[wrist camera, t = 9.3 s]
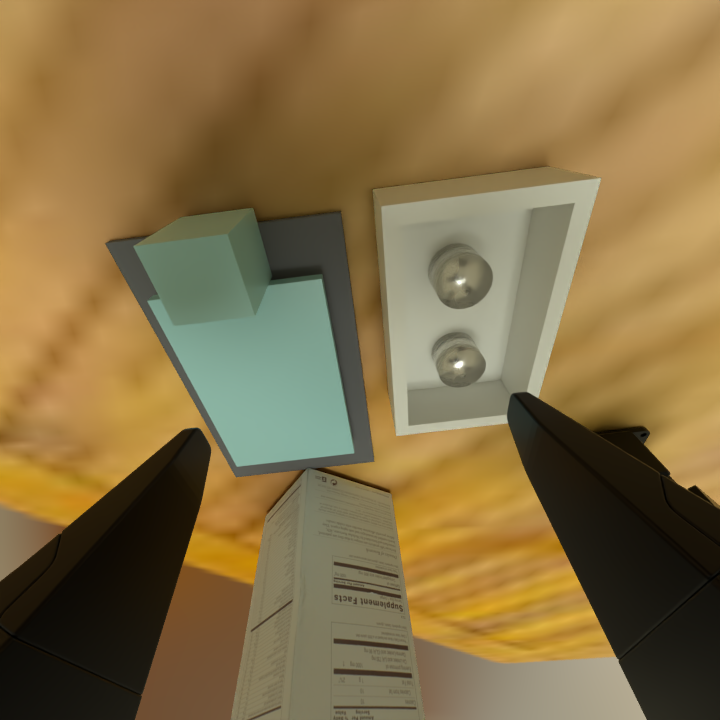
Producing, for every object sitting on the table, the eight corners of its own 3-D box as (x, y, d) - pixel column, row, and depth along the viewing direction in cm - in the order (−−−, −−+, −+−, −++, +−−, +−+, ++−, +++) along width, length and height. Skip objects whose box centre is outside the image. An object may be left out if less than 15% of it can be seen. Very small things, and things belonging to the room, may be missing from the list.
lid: (353, 440, 26) (356, 492, 23) (240, 452, 27) (224, 507, 23) (309, 200, 16) (301, 224, 12) (124, 224, 16) (60, 255, 12)
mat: (373, 457, 28) (374, 461, 28) (237, 473, 29) (236, 477, 28) (340, 210, 17) (340, 212, 16) (109, 240, 17) (105, 243, 17)
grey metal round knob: (476, 289, 19) (489, 305, 17) (427, 295, 19) (435, 312, 17) (481, 240, 17) (496, 252, 16) (428, 246, 17) (437, 259, 16)
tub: (505, 380, 24) (531, 420, 21) (388, 393, 24) (396, 435, 21) (548, 166, 16) (601, 177, 13) (372, 189, 16) (381, 206, 13)
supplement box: (343, 534, 36) (347, 785, 23) (263, 515, 33) (213, 798, 19) (395, 491, 31) (438, 777, 18) (308, 464, 28) (282, 792, 15)
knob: (472, 365, 22) (483, 384, 20) (431, 370, 22) (438, 389, 20) (476, 329, 20) (488, 347, 19) (431, 335, 20) (439, 353, 19)
